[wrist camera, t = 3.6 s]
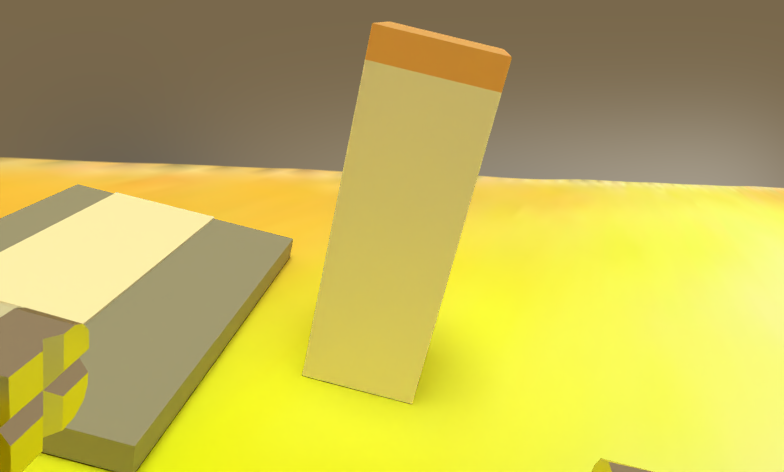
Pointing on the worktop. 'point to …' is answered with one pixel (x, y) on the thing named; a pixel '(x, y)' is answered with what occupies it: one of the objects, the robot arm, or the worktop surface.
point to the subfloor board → (134, 305)
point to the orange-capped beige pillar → (402, 205)
